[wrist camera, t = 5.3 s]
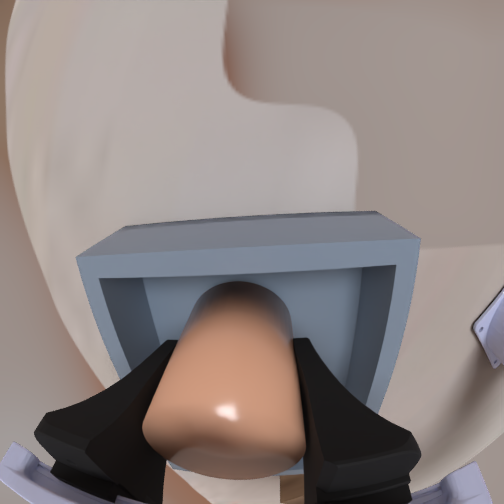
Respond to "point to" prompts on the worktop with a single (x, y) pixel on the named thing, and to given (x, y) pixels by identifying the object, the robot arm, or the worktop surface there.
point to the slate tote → (269, 276)
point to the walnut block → (292, 489)
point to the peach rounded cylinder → (231, 388)
